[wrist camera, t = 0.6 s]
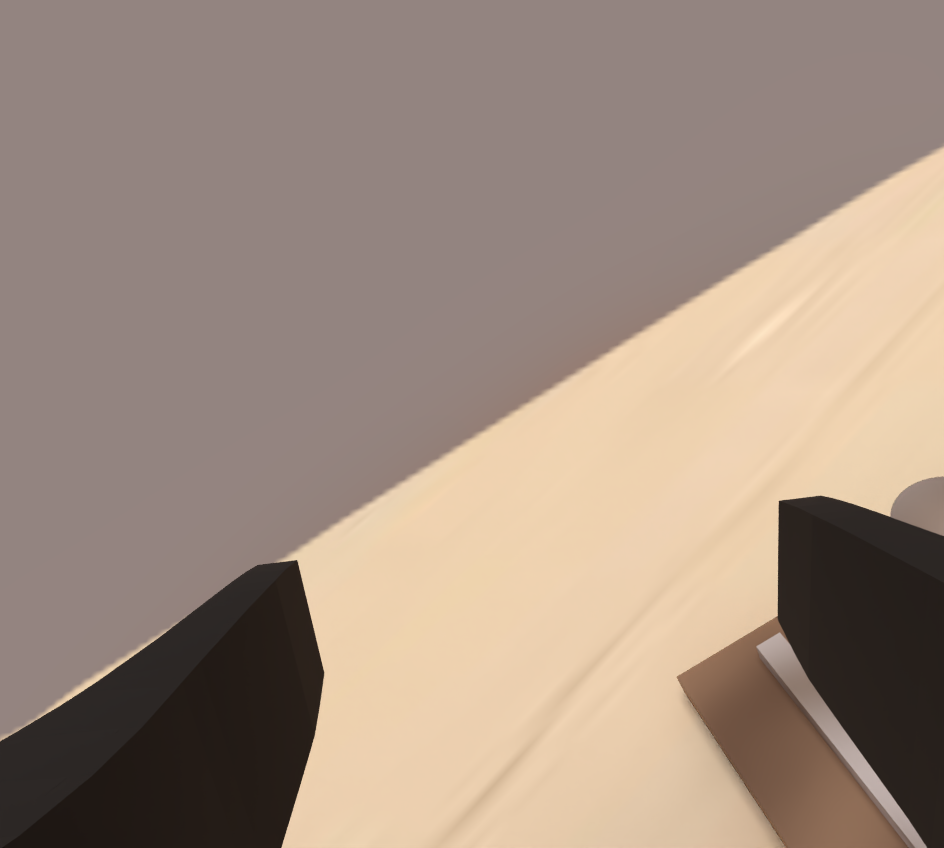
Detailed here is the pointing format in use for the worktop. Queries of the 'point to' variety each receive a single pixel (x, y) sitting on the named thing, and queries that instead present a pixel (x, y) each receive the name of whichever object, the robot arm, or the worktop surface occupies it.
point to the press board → (793, 748)
